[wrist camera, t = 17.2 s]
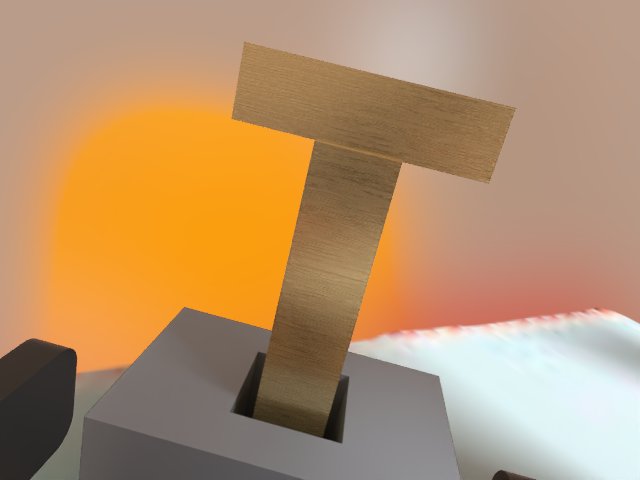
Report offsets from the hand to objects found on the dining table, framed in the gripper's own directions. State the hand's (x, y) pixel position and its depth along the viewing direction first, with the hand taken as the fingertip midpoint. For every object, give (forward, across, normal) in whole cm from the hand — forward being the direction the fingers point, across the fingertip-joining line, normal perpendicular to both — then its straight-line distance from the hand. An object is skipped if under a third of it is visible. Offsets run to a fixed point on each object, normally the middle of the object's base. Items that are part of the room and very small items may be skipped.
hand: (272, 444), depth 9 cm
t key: (+10, 0, +12) cm, 15 cm away
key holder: (+10, 0, +12) cm, 16 cm away
